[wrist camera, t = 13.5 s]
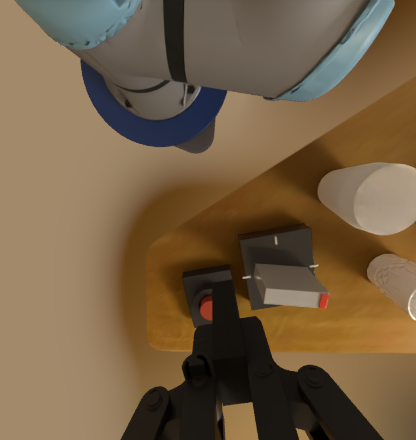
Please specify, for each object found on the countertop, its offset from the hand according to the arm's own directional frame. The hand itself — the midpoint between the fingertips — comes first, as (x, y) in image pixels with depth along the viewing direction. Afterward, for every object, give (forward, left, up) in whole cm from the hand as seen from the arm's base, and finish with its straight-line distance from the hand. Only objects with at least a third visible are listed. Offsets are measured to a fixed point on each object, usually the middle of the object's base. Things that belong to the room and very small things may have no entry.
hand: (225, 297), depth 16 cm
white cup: (+16, +29, -25) cm, 41 cm away
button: (+15, -4, -21) cm, 26 cm away
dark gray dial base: (+11, +9, -24) cm, 28 cm away
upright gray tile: (+11, +9, -21) cm, 26 cm away
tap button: (+15, -4, -24) cm, 29 cm away
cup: (-1, +21, -25) cm, 32 cm away
